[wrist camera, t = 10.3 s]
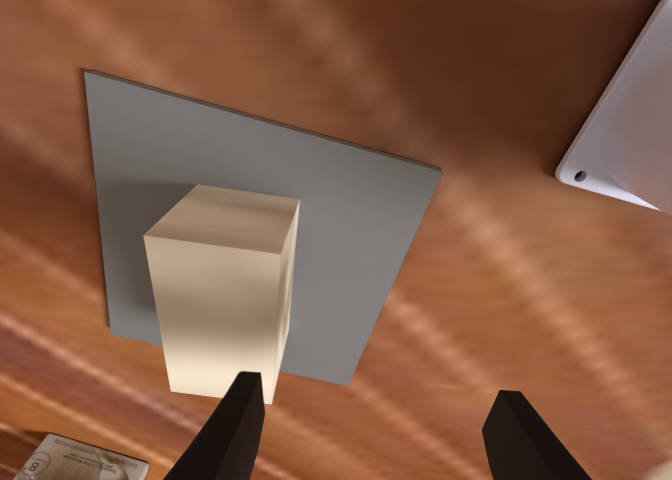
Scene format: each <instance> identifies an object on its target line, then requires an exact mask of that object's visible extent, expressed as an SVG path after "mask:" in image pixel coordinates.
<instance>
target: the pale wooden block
mask: <svg viewBox="0 0 672 480" xmlns="http://www.w3.org/2000/svg"><path fill="white" fill-rule="evenodd" d="M299 202H300V199H297V198H290V197H283V196H276V195H269V194H262V193H255V192H248V191H241V190H234V189H227V188H220V187H213V186H206V185H199V184H197V185H196V186H195V187H194V188H193V189H192V190H191V191H190V192H189V193H188V194H187V195H186V196H185V197H184V198H183V199H182V200H180V201H179V202H178V203H177V204H176V205H175V206H174V207H173V208H172V209H171V210H170V211H169V212H168V213H167V214H166V215H165V216H163V217H162V218H161V219H160V220H159V221H158V222H157V223H156V224H155V225H154V226H153V227H152V228H151V229H150V230H149V231H148V232H146V233H145V234H144V235H143V236H144V242H145V247H146V253H147V259H148V264H149V270H150V276H151V281H152V287H153V293H154V298H155V304H156V310H157V315H158V321H159V327H160V332H161V338H162V344H163V349H164V355H165V361H166V366H167V372H168V378H169V383H170V389H171V391H172V392H180V393H188V394H196V395H203V396H211V397H219V398H223V397H224V395H225V394H226V392H227V391H228V389H229V388H230V386H231V384H232V383H233V381H234V379H235V378H236V376H237V374H238V373H239V372H241V371H248V372H261V377H262V387H263V397H264V403H265V404H272V400H273V395H274V391H275V387H276V382H277V378H278V374H279V369H280V365H281V361H282V356H283V352H284V348H285V343H286V339H287V335H288V330H289V318H290V307H291V295H292V284H293V272H294V260H295V249H296V237H297V226H298V214H299Z"/></svg>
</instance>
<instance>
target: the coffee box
mask: <svg viewBox="0 0 672 480" xmlns="http://www.w3.org/2000/svg"><path fill="white" fill-rule="evenodd" d="M148 467H149V464H147V463H146V462H142V461H139V460H136V459H133V458H129V457H126V456H123V455H120V454H117V453H114V452H110V451H107V450H104V449H101V448H97V447H94V446H91V445H88V444H84V443H81V442H78V441H75V440H71V439H68V438H65V437H61V436H58V435H55V434H51V433H49V434H48V435H47V436H46V437H45V438H44V440H43V441H42V442H41V444H40V445H39V446H38V447H37V449H36V450H35V451H34V453H33V454H32V455H31V456H30V458H29V459H28V460H27V462H26V463H25V464H24V465H23V467H22V468H21V469H20V471H19V472H18V473H17V474H16V475H15V477H14V478H13V479H12V480H144V478H145V476H146V473H147V470H148Z"/></svg>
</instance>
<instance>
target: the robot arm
mask: <svg viewBox="0 0 672 480" xmlns="http://www.w3.org/2000/svg"><path fill="white" fill-rule="evenodd" d="M580 171H582V174H581V176H580V177H579V178H576V179H574V177H575V175H576V174H577V173H578V172H580ZM555 176H556V178H557V179H558V180H559V181H561V182H562V183H565V184H568V185H572V186H575V187H579V188H582V189H586V190H589V191H593V192H596V193H600V194H603V195H607V196H610V197H614V198H617V199H621V200H624V201H627V202H631V203H634V204H638V205H641V206H645V207H648V208H652V209H655V210H659V211H662V212H664V213H666V214H668V215H669V216H671V217H672V0H661V1H660V2H659V4H658V6H657V7H656V9H655V10H654V12H653V14H652V15H651V17H650V18H649V20H648V22H647V23H646V25H645V27H644V28H643V30H642V31H641V33H640V35H639V36H638V38H637V39H636V41H635V43H634V44H633V46H632V48H631V49H630V51H629V52H628V54H627V56H626V57H625V59H624V60H623V62H622V64H621V65H620V67H619V68H618V70H617V72H616V73H615V75H614V77H613V78H612V80H611V81H610V83H609V85H608V86H607V88H606V89H605V91H604V93H603V94H602V96H601V98H600V99H599V101H598V102H597V104H596V106H595V107H594V109H593V110H592V112H591V114H590V115H589V117H588V119H587V120H586V122H585V123H584V125H583V127H582V128H581V130H580V131H579V133H578V135H577V136H576V138H575V139H574V141H573V143H572V144H571V146H570V148H569V149H568V151H567V152H566V154H565V156H564V157H563V159H562V160H561V162H560V164H559V165H558V167H557V169H556V171H555ZM264 416H265V407H264V397H263V387H262V377H261V372H248V371H241V372H239V373H238V374H237V376H236V378H235V379H234V381H233V383H232V384H231V386H230V388H229V389H228V391H227V392H226V394H225V395H224V397H223V399H222V400H221V402H220V403H219V405H218V406H217V408H216V409H215V411H214V412H213V414H212V415H211V417H210V418H209V419H208V421H207V422H206V424H205V425H204V426H203V428H202V429H201V431H200V432H199V433H198V435H197V436H196V438H195V439H194V440H193V442H192V443H191V444H190V446H189V447H188V448H187V450H186V451H185V452H184V453H183V455H182V456H181V457H180V459H179V460H178V461H177V462H176V464H175V465H174V466H173V468H172V469H171V470H170V471H169V473H168V474H167V475H166V476H165V478H164V479H163V480H250V476H251V473H252V469H253V466H254V462H255V459H256V455H257V452H258V448H259V443H260V438H261V433H262V427H263V422H264ZM482 433H483V438H484V443H485V448H486V453H487V457H488V462H489V466H490V470H491V473H492V476H493V479H494V480H592V479H591V478H590V477H589V475H588V474H587V473H586V472H585V471H584V469H583V468H582V467H581V466H580V465H579V463H578V462H577V461H576V460H575V459H574V458H573V456H572V455H571V454H570V453H569V452H568V450H567V449H566V448H565V447H564V445H563V444H562V443H561V442H560V441H559V439H558V438H557V437H556V436H555V434H554V433H553V432H552V431H551V429H550V428H549V427H548V426H547V424H546V423H545V422H544V421H543V419H542V418H541V417H540V415H539V414H538V413H537V412H536V410H535V409H534V408H533V407H532V405H531V404H530V403H529V402H528V400H527V399H526V398H525V397H524V395H523V394H522V393H521V392H520V391H506V390H499V393H498V395H497V397H496V399H495V402H494V404H493V406H492V408H491V411H490V413H489V415H488V417H487V419H486V422H485V424H484V426H483V428H482Z"/></svg>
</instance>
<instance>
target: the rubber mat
mask: <svg viewBox="0 0 672 480" xmlns="http://www.w3.org/2000/svg"><path fill="white" fill-rule="evenodd" d="M84 75H85V85H86V95H87V105H88V115H89V124H90V134H91V144H92V154H93V164H94V173H95V183H96V193H97V203H98V213H99V223H100V232H101V242H102V252H103V262H104V272H105V281H106V291H107V301H108V311H109V321H110V331H111V335H115V336H120V337H124V338H129V339H133V340H138V341H143V342H147V343H152V344H156V345H161V346H163V344H162V338H161V332H160V327H159V321H158V315H157V310H156V304H155V298H154V293H153V287H152V281H151V276H150V270H149V264H148V259H147V253H146V247H145V242H144V236H143V235H144V234H145V233H146V232H148V231H149V230H150V229H151V228H152V227H153V226H154V225H155V224H156V223H157V222H158V221H159V220H160V219H161V218H162V217H163V216H165V215H166V214H167V213H168V212H169V211H170V210H171V209H172V208H173V207H174V206H175V205H176V204H177V203H178V202H179V201H180V200H182V199H183V198H184V197H185V196H186V195H187V194H188V193H189V192H190V191H191V190H192V189H193V188H194V187H195V186H196V185H197V184H199V185H206V186H213V187H220V188H227V189H234V190H241V191H248V192H255V193H262V194H269V195H276V196H283V197H290V198H297V199H300V202H299V214H298V226H297V237H296V249H295V260H294V272H293V284H292V295H291V307H290V318H289V330H288V335H287V339H286V343H285V348H284V352H283V356H282V361H281V365H280V369H279V371H281V372H285V373H290V374H295V375H299V376H304V377H308V378H313V379H318V380H322V381H327V382H331V383H336V384H341V385H345V386H348V384H349V382H350V380H351V377H352V375H353V373H354V371H355V368H356V366H357V364H358V362H359V359H360V357H361V355H362V353H363V350H364V348H365V346H366V344H367V341H368V339H369V337H370V335H371V332H372V330H373V328H374V326H375V323H376V321H377V319H378V317H379V314H380V312H381V310H382V308H383V305H384V303H385V301H386V299H387V296H388V294H389V292H390V290H391V287H392V285H393V283H394V281H395V278H396V276H397V274H398V272H399V269H400V267H401V265H402V263H403V260H404V258H405V256H406V254H407V251H408V249H409V247H410V245H411V242H412V240H413V238H414V236H415V233H416V231H417V229H418V227H419V224H420V222H421V220H422V218H423V215H424V213H425V211H426V209H427V206H428V204H429V202H430V200H431V197H432V195H433V193H434V191H435V188H436V186H437V184H438V182H439V179H440V177H441V175H442V173H443V172H442V170H441V169H440V168H439V167H435V166H432V165H428V164H425V163H421V162H417V161H414V160H410V159H407V158H403V157H400V156H396V155H393V154H389V153H385V152H382V151H378V150H375V149H371V148H368V147H364V146H361V145H357V144H353V143H350V142H346V141H343V140H339V139H336V138H332V137H329V136H325V135H321V134H318V133H314V132H311V131H307V130H304V129H300V128H297V127H293V126H289V125H286V124H282V123H279V122H275V121H272V120H268V119H265V118H261V117H258V116H254V115H250V114H247V113H243V112H240V111H236V110H233V109H229V108H226V107H222V106H218V105H215V104H211V103H208V102H204V101H201V100H197V99H194V98H190V97H186V96H183V95H179V94H176V93H172V92H169V91H165V90H162V89H158V88H154V87H151V86H147V85H144V84H140V83H137V82H133V81H130V80H126V79H122V78H119V77H115V76H112V75H108V74H105V73H101V72H98V71H94V70H92V71H85V72H84Z"/></svg>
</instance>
